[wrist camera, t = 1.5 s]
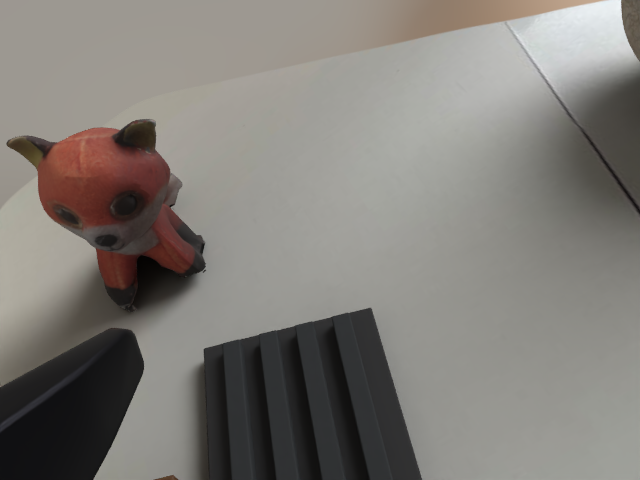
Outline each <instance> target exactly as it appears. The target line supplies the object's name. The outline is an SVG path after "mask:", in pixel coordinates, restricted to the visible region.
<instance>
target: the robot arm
mask: <svg viewBox="0 0 640 480" xmlns="http://www.w3.org/2000/svg"><path fill="white" fill-rule="evenodd" d="M143 370H144V361H143V358H142V355H141V352H140V349H139V346H138V343H137V340H136V336H135V334H134V333H133V332H132V331H131V330H129V329H120V328H110V329H108V330H106V331H104V332H102V333H100V334H98V335H96V336H95V337H93V338H91V339H89V340H87V341H85V342H83V343H82V344H80V345H78V346H76V347H74V348H72V349H70V350H69V351H67V352H65V353H63V354H61V355H59V356H57V357H56V358H54V359H52V360H50V361H48V362H46V363H44V364H43V365H41V366H39V367H37V368H35V369H33V370H31V371H30V372H28V373H26V374H24V375H22V376H20V377H18V378H17V379H15V380H13V381H11V382H9V383H7V384H5V385H4V386H2V387H0V480H93V479H94V477H95V475H96V473H97V471H98V470H99V468H100V466H101V464H102V462H103V461H104V459H105V457H106V455H107V453H108V451H109V449H110V447H111V445H112V443H113V441H114V439H115V437H116V435H117V432H118V430H119V428H120V425H121V423H122V421H123V419H124V416H125V414H126V412H127V409H128V407H129V405H130V402H131V400H132V398H133V395H134V393H135V391H136V388H137V386H138V384H139V382H140V379H141V377H142V374H143Z"/></svg>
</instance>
